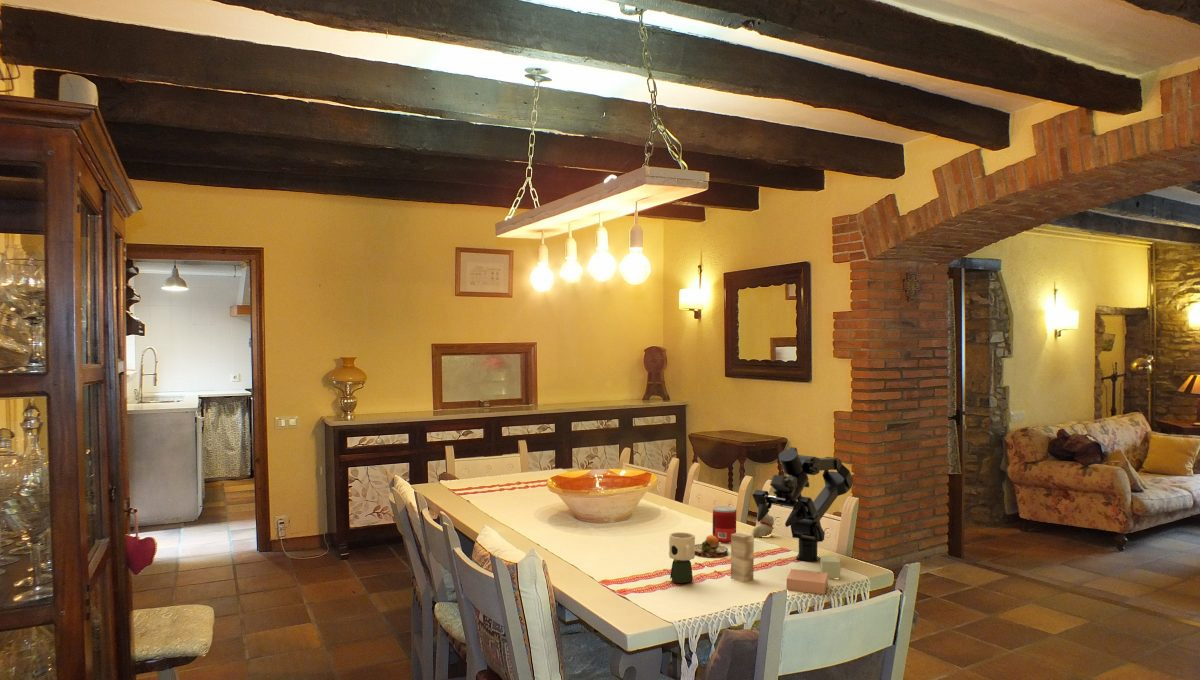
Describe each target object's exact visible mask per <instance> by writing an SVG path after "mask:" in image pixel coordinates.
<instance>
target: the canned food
mask: <svg viewBox="0 0 1200 680" xmlns="http://www.w3.org/2000/svg"><path fill="white" fill-rule="evenodd" d="M734 533H737V508H736V507H733V506H726V505H725V506H723V505H718V506H713V507H712V536H715V537H716V538H717V539H718V541H719V542H721V543H720V544H730V543H729V542H731V534H734ZM715 534H716V535H715Z"/></svg>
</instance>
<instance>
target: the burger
mask: <svg viewBox="0 0 1200 680" xmlns="http://www.w3.org/2000/svg"><path fill="white" fill-rule="evenodd" d="M715 535H716V534H715ZM728 550H729V548H728V547H726V546H724V545H720V543H719V541H718V539H717V538H716V537H715V536H713V534H710V535H707V536H706V538H705V540H704V541H703V542H701V543H697V544H695V556H698V557H699V554H700V556H701V557H703V558H707V559H708V558H710V557H711V558H712V557H714V558H721V557H722V558H723V557H726V556H727V557H728V555H729V552H728Z"/></svg>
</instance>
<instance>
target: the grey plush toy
mask: <svg viewBox="0 0 1200 680" xmlns="http://www.w3.org/2000/svg"><path fill="white" fill-rule="evenodd" d="M756 514H757V516H758V512H757V513H756ZM774 521H775V519H774V516H771V515H769V512H768V513H767V514H766V515H765V517H764V518H763V519H762V520H761V521H760V522H759V523H758V524H757V525H755V526H754V527H753V529H752V532H751V534H752V535H754V538H756V537H762V536H767V535H769V534H772V532H773V530H774V529H775V528H774V527H773V526H774V524H775V523H774Z"/></svg>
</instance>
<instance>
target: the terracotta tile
mask: <svg viewBox="0 0 1200 680" xmlns="http://www.w3.org/2000/svg"><path fill="white" fill-rule="evenodd" d="M828 584H829V579H828V573H822V572H819V571H812V570H811V571H810V570H802V569H796V568H795V569H794V568H791V569H790V570H789V572H788V575H787V577H786V586H785V587H786V589H788V591H795V592H804V593H811V594H818V595H819V594H820V595H826V592H827V589H826V588H828Z"/></svg>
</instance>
